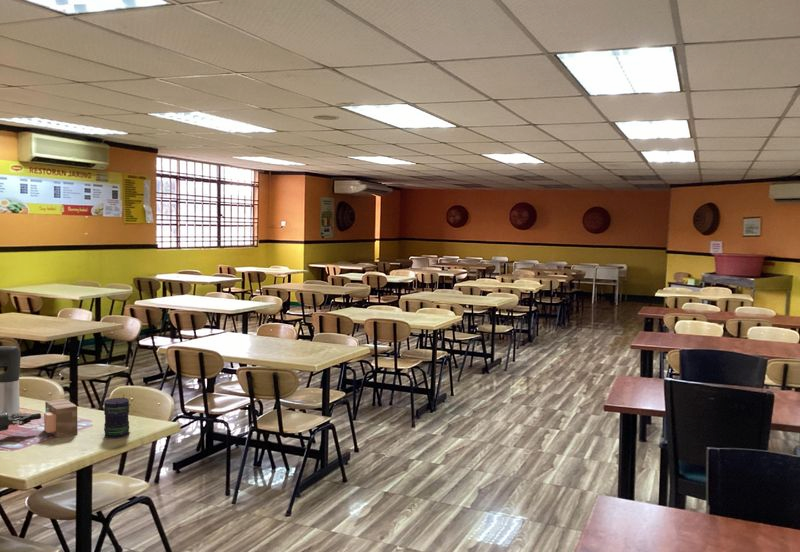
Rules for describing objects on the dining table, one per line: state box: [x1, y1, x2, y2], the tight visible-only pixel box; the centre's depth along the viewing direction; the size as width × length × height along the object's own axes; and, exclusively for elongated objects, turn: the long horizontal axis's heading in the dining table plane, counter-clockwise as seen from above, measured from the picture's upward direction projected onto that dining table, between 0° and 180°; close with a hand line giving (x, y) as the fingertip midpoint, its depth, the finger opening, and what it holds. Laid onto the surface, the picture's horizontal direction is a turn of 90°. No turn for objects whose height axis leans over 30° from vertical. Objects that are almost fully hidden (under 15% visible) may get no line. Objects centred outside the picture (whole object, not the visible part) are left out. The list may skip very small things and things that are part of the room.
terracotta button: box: [43, 412, 56, 433], centre depth 272 cm, size 5×6×7 cm
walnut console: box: [44, 398, 79, 438], centre depth 279 cm, size 17×8×12 cm, turn 43°
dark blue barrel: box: [103, 397, 130, 440], centre depth 275 cm, size 10×10×15 cm
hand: (40, 415), depth 278 cm, fingers closed
